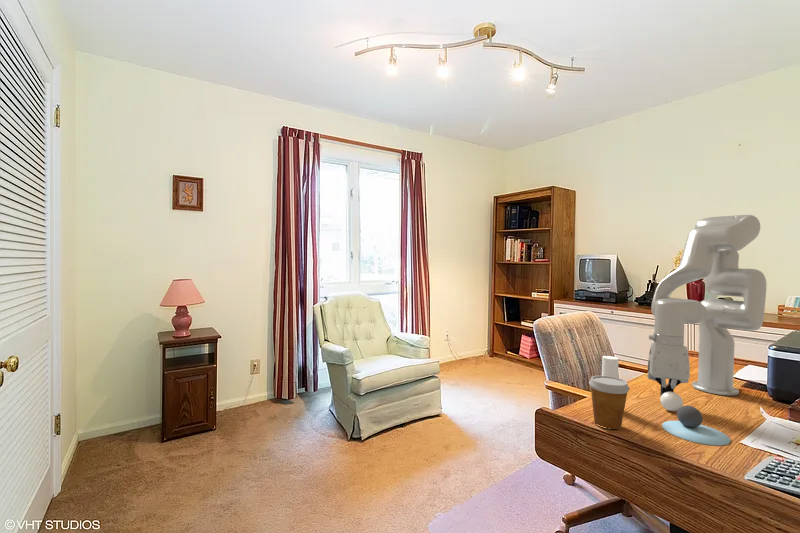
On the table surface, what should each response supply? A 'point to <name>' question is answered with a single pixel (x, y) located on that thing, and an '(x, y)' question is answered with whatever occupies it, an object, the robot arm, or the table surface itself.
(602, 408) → the disposable coffee cup
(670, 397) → the cue ball
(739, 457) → the table surface
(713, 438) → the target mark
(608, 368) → the tube
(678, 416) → the object ball
